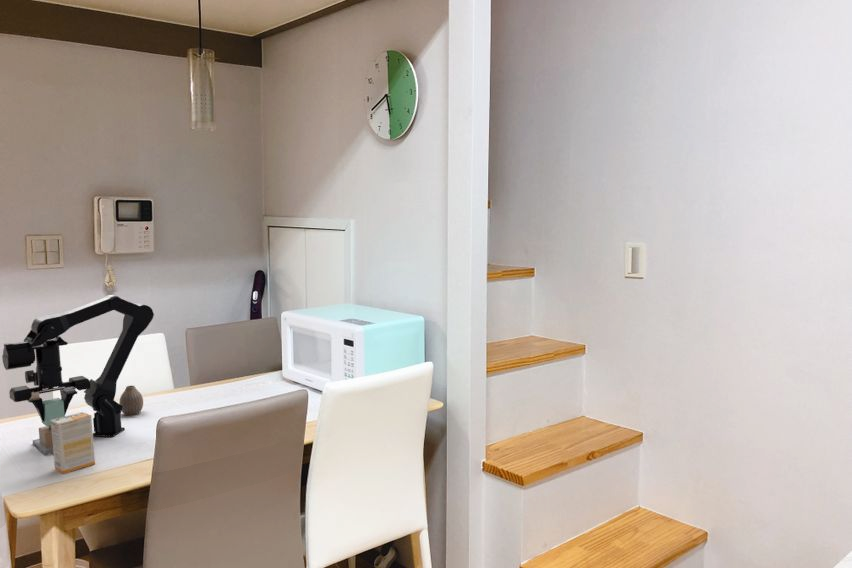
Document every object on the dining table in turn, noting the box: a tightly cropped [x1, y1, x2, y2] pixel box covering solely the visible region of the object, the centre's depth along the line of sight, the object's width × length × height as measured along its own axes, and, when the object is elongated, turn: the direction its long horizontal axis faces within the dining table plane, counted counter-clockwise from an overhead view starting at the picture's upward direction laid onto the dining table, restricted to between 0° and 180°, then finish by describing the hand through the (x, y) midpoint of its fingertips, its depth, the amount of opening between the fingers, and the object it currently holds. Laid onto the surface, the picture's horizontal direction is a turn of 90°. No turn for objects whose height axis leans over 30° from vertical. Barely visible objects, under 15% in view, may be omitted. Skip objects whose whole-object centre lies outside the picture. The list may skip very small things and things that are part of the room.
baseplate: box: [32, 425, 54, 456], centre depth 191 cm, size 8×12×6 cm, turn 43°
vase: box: [118, 385, 144, 416], centre depth 219 cm, size 7×7×9 cm
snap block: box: [41, 397, 66, 427], centre depth 190 cm, size 5×5×6 cm
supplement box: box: [50, 411, 96, 474], centre depth 175 cm, size 8×5×13 cm, turn 141°
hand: (53, 419), depth 190 cm, fingers closed on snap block, 5 cm apart
